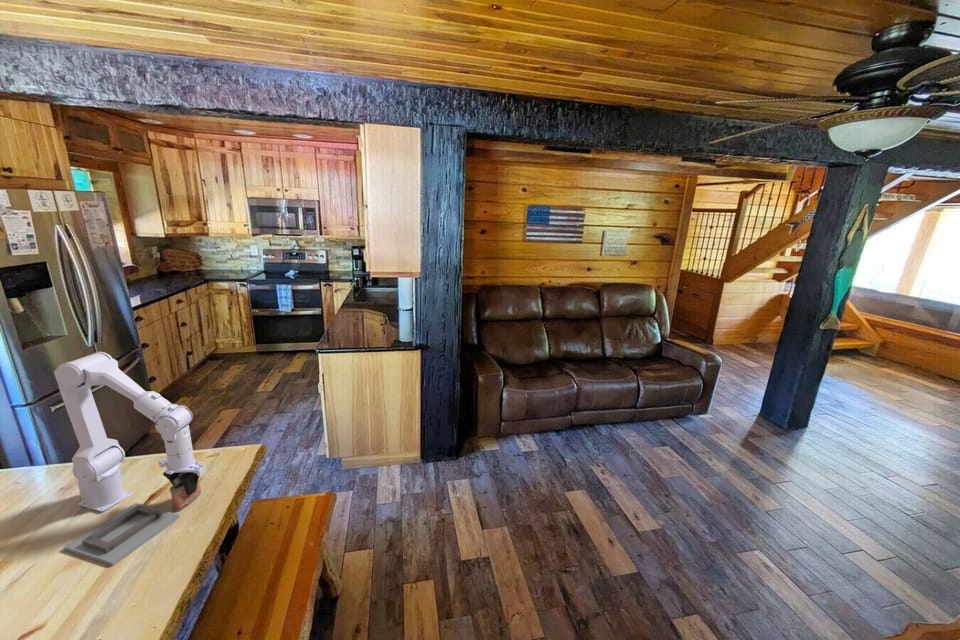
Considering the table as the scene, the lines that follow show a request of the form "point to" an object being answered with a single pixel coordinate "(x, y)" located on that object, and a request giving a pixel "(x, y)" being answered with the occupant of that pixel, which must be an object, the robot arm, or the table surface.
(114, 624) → the table surface
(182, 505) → the lighter
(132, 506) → the socket dock
